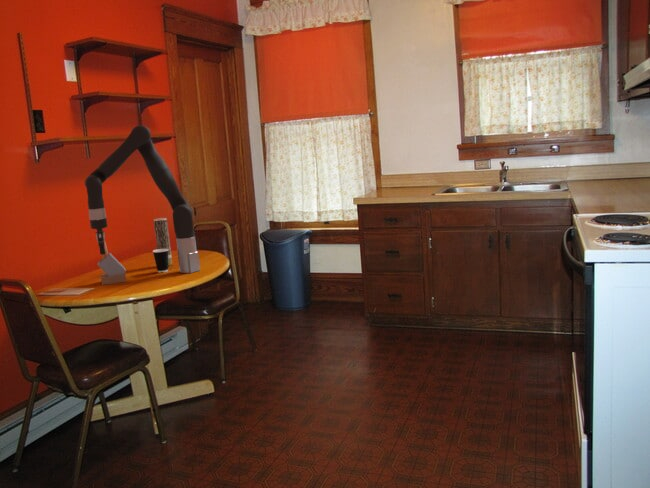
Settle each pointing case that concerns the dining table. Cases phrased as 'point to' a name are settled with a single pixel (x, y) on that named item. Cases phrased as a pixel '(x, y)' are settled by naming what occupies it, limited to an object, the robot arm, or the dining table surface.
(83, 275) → the dining table surface
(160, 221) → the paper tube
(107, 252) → the dowel
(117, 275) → the socket
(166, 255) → the dixie cup
